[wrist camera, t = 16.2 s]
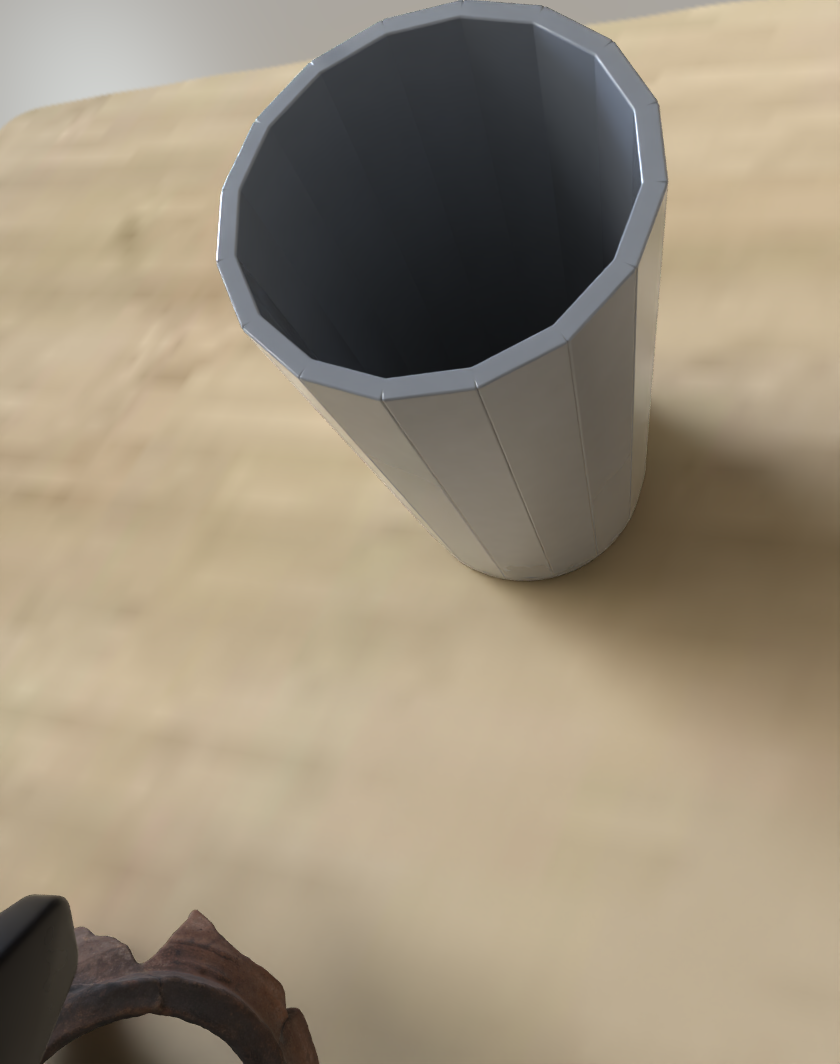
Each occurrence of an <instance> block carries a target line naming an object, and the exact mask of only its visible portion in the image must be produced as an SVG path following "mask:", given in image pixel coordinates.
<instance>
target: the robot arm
mask: <svg viewBox="0 0 840 1064" xmlns="http://www.w3.org/2000/svg"><path fill="white" fill-rule="evenodd" d="M77 966H78V947H77V942H76V936H75V931H74V926H73V921H72V915H71V910H70V906H69V903H68V901H67V900H66V899H65V898H64V897H62V896H57V895H36V894H34V895H29V896H26V897H24V898H23V899H21V900H19V901H18V902H16V903H15V904H13V905H12V906H10V907H9V908H7V909H6V910H4V911H3V912H1V913H0V1064H40V1062H41V1060H42V1057H43V1055H44V1052H45V1050H46V1047H47V1045H48V1042H49V1040H50V1037H51V1035H52V1032H53V1030H54V1027H55V1025H56V1022H57V1020H58V1017H59V1015H60V1013H61V1010H62V1008H63V1005H64V1003H65V1000H66V998H67V995H68V993H69V990H70V988H71V985H72V983H73V980H74V977H75V974H76V971H77Z"/></svg>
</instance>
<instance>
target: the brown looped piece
mask: <svg viewBox="0 0 840 1064" xmlns="http://www.w3.org/2000/svg"><path fill="white" fill-rule="evenodd" d="M74 931H75V936H76V942H77V947H78V966H77V971H76V974H75V977H74V980H73V983H72V985H71V988H70V990H69V993H68V995H67V998H66V1000H65V1003H64V1005H63V1008H62V1010H61V1013H60V1015H59V1017H58V1020H57V1022H56V1025H55V1027H54V1030H53V1032H52V1035H51V1037H50V1040H49V1042H48V1045H47V1047H46V1050H45V1052H44V1055H43V1057H42V1060H41V1062H40V1064H43V1063H44V1062H45V1061H46V1060H48V1059H49V1058H50V1057H51V1056H52V1055H53V1054H55V1053H56V1052H57V1051H59V1050H60V1049H61V1048H62V1047H64V1046H65V1045H67V1044H68V1043H70V1042H71V1041H73V1040H74V1039H76V1038H78V1037H80V1036H82V1035H84V1034H86V1033H88V1032H90V1031H92V1030H94V1029H96V1028H98V1027H101V1026H104V1025H106V1024H109V1023H112V1022H115V1021H118V1020H121V1019H127V1018H132V1017H138V1016H142V1015H145V1014H148V1013H152V1014H156V1015H164V1016H171V1017H177V1018H180V1019H182V1020H184V1021H186V1022H189V1023H193V1024H196V1025H199V1026H201V1027H203V1028H205V1029H207V1030H209V1031H210V1032H212V1033H213V1034H215V1035H217V1036H219V1037H220V1038H221V1039H222V1040H224V1041H225V1042H226V1043H227V1044H228V1045H229V1046H230V1047H231V1048H232V1050H233V1051H234V1052H235V1053H236V1054H237V1055H238V1057H239V1058H240V1059H241V1060H242V1062H243V1063H244V1064H319V1061H318V1056H317V1053H316V1050H315V1047H314V1044H313V1042H312V1038H311V1035H310V1032H309V1029H308V1025H307V1023H306V1020H305V1018H304V1015H303V1014H302V1012H301V1011H300V1010H299V1009H298V1008H287V1009H286V1002H285V992H284V989H283V986H282V985H281V983H280V982H279V981H278V980H276V979H275V978H274V977H273V976H272V975H271V974H270V973H269V972H268V971H267V970H265V969H264V968H263V967H261V966H259V965H257V964H256V963H254V962H253V961H252V960H251V959H250V958H248V957H246V956H244V955H243V954H241V953H240V952H239V951H238V950H236V949H235V948H234V947H233V946H232V945H231V944H230V943H229V942H228V941H227V940H226V939H225V938H224V937H223V936H222V935H220V934H219V933H218V932H217V930H216V929H215V927H214V925H213V924H212V923H211V922H210V921H209V920H208V919H207V918H206V917H205V916H204V915H202V914H201V913H200V912H199V911H198V910H193V911H192V912H191V913H190V915H189V917H188V919H187V920H186V921H185V922H184V923H183V924H182V925H181V926H180V927H179V929H178V930H176V931H175V932H174V933H173V934H172V936H171V937H170V938H169V940H168V941H167V942H166V944H165V945H164V946H163V947H162V948H161V949H160V950H159V951H158V952H157V953H156V954H155V955H154V956H153V957H152V958H150V959H149V960H148V961H147V962H145V963H144V964H139V963H137V962H136V961H135V959H134V957H133V955H132V953H131V951H130V949H129V947H128V946H127V945H125V944H123V943H121V942H120V941H118V940H117V939H115V938H112V937H108V936H95V935H94V934H93V933H92V932H90V931H89V930H88V929H87V928H85V927H77V928H75V929H74Z"/></svg>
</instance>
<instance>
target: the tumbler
mask: <svg viewBox="0 0 840 1064" xmlns="http://www.w3.org/2000/svg"><path fill="white" fill-rule="evenodd" d="M255 121H256V122H254V123H253V124H252V126H251V129H250V131H249V133H248V135H247V137H246V139H245V141H244V143H243V145H242V148H241V150H240V152H239V154H238V156H237V158H236V160H235V162H234V164H233V166H232V169H231V171H230V173H229V175H228V177H227V179H226V181H225V183H224V185H223V188H222V192H221V201H220V215H219V229H218V243H217V257H216V261H217V267H218V269H219V272H220V275H221V277H222V280H223V282H224V285H225V287H226V290H227V292H228V295H229V298H230V300H231V303H232V305H233V308H234V310H235V313H236V315H237V318H238V320H239V323H240V326H241V328H242V329H243V330H244V332H245V333H246V334H247V335H248V337H249V338H250V339H251V340H252V341H253V342H254V343H255V344H256V345H257V346H258V347H259V349H260V350H261V351H262V352H263V353H264V354H265V355H266V356H267V357H268V358H269V359H270V360H271V362H272V363H273V364H274V365H275V366H276V367H277V368H278V369H279V370H280V371H281V372H282V374H283V375H284V376H285V377H286V378H287V379H288V380H289V381H290V382H291V383H292V384H293V386H294V387H295V388H296V389H297V390H298V391H299V392H300V393H301V394H302V395H303V396H304V398H305V399H306V400H307V401H308V402H309V403H310V404H311V405H312V406H313V407H314V408H315V410H316V411H317V412H318V413H319V414H320V415H321V416H322V417H323V418H324V419H325V420H326V422H327V423H328V424H329V425H330V426H331V427H332V428H333V429H334V430H335V431H336V432H337V433H338V435H339V436H340V437H341V438H342V439H343V440H344V441H345V442H346V443H347V444H348V445H349V447H350V448H351V449H352V450H353V451H354V452H355V453H356V454H357V455H358V456H359V457H360V459H361V460H362V461H363V462H364V463H365V464H366V465H367V466H368V467H369V468H370V469H371V471H372V472H373V473H374V474H375V475H376V476H377V477H378V478H379V479H380V480H381V481H382V483H383V484H384V485H385V486H386V487H387V488H388V489H389V490H390V491H391V492H392V493H393V495H394V496H395V497H396V498H397V499H398V500H399V501H400V502H401V503H402V504H403V505H404V506H405V508H406V509H407V510H408V511H409V512H410V513H411V514H412V515H413V516H414V517H415V518H416V520H417V521H418V522H419V523H420V524H421V525H422V526H423V527H424V528H425V529H426V530H427V532H428V533H429V534H430V535H431V536H432V537H433V538H434V539H435V540H437V541H438V542H439V543H440V544H441V545H442V546H443V547H444V548H445V549H446V550H447V551H448V552H449V553H450V554H452V555H453V556H454V557H455V558H457V559H458V560H459V561H460V562H461V563H463V564H464V565H467V566H469V567H470V568H472V569H474V570H476V571H479V572H481V573H484V574H486V575H489V576H493V577H497V578H501V579H507V580H515V581H534V580H542V579H548V578H552V577H556V576H560V575H563V574H566V573H568V572H571V571H573V570H576V569H578V568H580V567H581V566H583V565H585V564H587V563H589V562H590V561H592V560H593V559H594V558H596V557H597V556H598V555H600V554H601V553H603V552H604V551H605V550H606V549H607V548H608V547H609V546H610V545H611V544H612V543H613V542H614V541H615V540H616V538H617V537H618V536H619V535H620V533H621V532H622V531H623V530H624V528H625V526H626V525H627V523H628V521H629V520H630V518H631V516H632V514H633V512H634V509H635V507H636V505H637V502H638V498H639V495H640V491H641V486H642V483H643V480H644V478H645V468H646V455H647V443H648V430H649V418H650V405H651V392H652V380H653V367H654V355H655V342H656V330H657V317H658V305H659V292H660V280H661V267H662V255H663V242H664V229H665V217H666V204H667V192H668V174H667V165H666V157H665V149H664V140H663V132H662V123H661V115H660V106H659V104H658V101H657V99H656V98H655V97H654V95H653V94H652V93H651V91H650V90H649V88H648V87H647V86H646V84H645V83H644V82H643V80H642V79H641V78H640V76H639V75H638V73H637V72H636V71H635V69H634V68H633V67H632V65H631V64H630V62H629V61H628V60H627V58H626V57H625V56H624V54H623V53H622V51H621V50H620V49H619V47H618V46H617V45H616V43H615V42H613V41H612V40H611V39H609V38H607V37H605V36H603V35H601V34H599V33H597V32H595V31H594V30H592V29H590V28H588V27H586V26H584V25H582V24H580V23H578V22H576V21H574V20H572V19H570V18H568V17H566V16H564V15H562V14H560V13H558V12H555V11H554V10H552V9H550V8H548V7H544V6H541V5H527V4H515V3H503V2H490V1H477V0H464V1H463V0H459V1H456V2H451V3H447V4H443V5H439V6H435V7H431V8H427V9H423V10H419V11H415V12H411V13H407V14H403V15H398V16H394V17H391V18H386V19H384V20H383V21H379V22H377V23H376V24H374V25H372V26H370V27H369V28H367V29H365V30H363V31H362V32H360V33H358V34H357V35H355V36H353V37H351V38H350V39H348V40H347V41H345V42H343V43H342V44H340V45H338V46H336V47H335V48H333V49H331V50H329V51H328V52H326V53H324V54H322V55H321V56H319V57H317V58H316V59H314V60H312V61H311V63H308V64H307V65H306V67H305V68H304V69H303V70H302V71H301V72H300V73H299V74H298V75H297V76H296V77H295V78H294V79H293V80H292V81H291V82H290V83H289V84H288V86H287V87H286V88H285V89H284V90H283V91H282V92H281V93H280V94H279V95H278V96H277V97H276V98H275V99H274V100H273V101H272V102H271V104H270V105H269V106H268V107H267V108H266V109H265V110H264V111H263V112H262V113H261V114H260V115H259V116H258V117H257V118H256V120H255Z"/></svg>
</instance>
